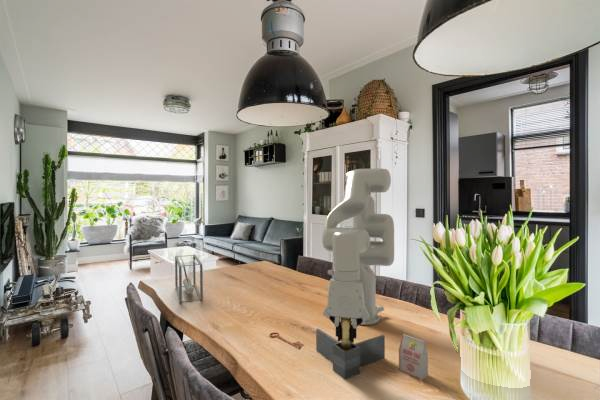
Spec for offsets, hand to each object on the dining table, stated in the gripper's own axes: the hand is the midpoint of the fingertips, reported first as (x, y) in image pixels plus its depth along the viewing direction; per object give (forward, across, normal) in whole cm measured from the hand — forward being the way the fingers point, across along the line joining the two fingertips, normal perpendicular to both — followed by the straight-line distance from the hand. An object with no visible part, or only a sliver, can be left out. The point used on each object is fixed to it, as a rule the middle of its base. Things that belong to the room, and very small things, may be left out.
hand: (346, 339), depth 89 cm
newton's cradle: (+10, -86, +52) cm, 101 cm away
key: (+10, -22, +15) cm, 28 cm away
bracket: (+9, 0, +9) cm, 13 cm away
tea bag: (+10, +18, +4) cm, 21 cm away
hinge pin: (+6, 0, 0) cm, 6 cm away
